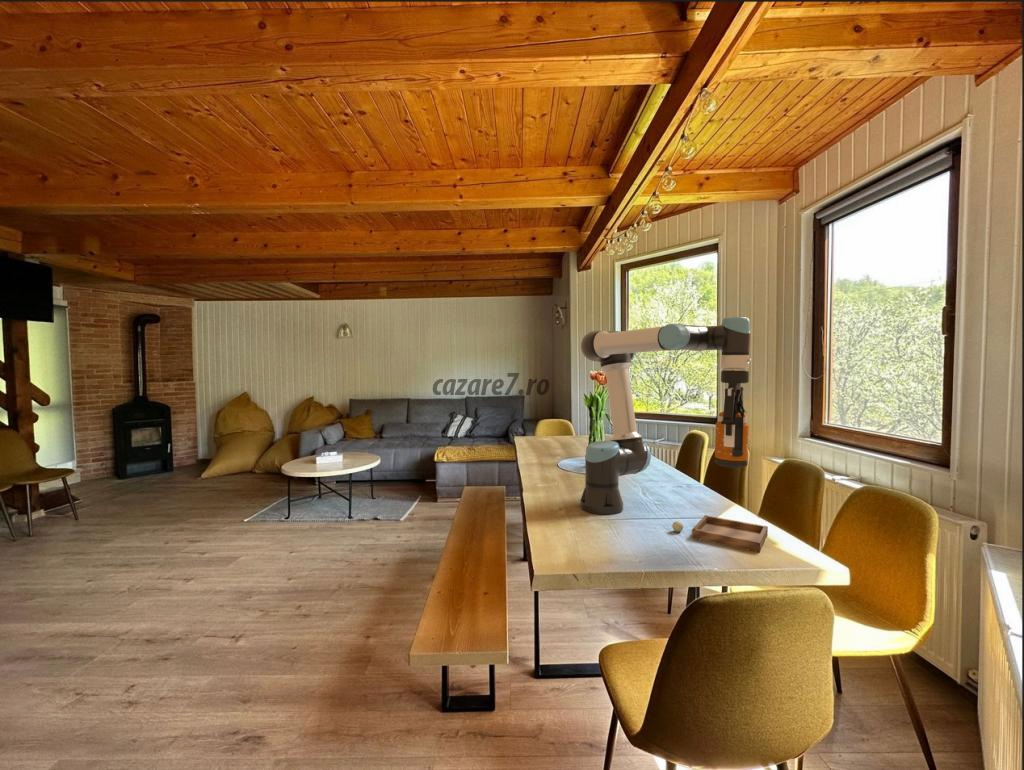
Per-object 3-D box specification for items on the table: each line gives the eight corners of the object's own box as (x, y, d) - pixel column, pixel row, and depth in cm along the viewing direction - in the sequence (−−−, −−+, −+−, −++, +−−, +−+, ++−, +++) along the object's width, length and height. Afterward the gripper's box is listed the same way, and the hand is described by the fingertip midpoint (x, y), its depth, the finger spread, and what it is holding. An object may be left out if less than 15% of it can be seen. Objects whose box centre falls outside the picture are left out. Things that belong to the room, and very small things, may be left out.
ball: (670, 531, 145) (671, 521, 144) (673, 528, 147) (674, 518, 147) (681, 534, 143) (681, 523, 143) (684, 531, 145) (684, 520, 145)
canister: (740, 463, 146) (742, 398, 145) (755, 471, 135) (757, 401, 134) (710, 462, 147) (712, 398, 146) (722, 470, 136) (724, 401, 135)
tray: (691, 537, 140) (692, 529, 139) (704, 523, 153) (705, 515, 153) (759, 552, 129) (760, 542, 129) (767, 534, 142) (767, 526, 142)
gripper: (741, 370, 128) (739, 451, 129) (755, 369, 146) (753, 440, 148) (712, 370, 133) (710, 448, 134) (729, 369, 151) (727, 438, 152)
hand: (732, 444), depth 141 cm, fingers closed on canister, 10 cm apart
